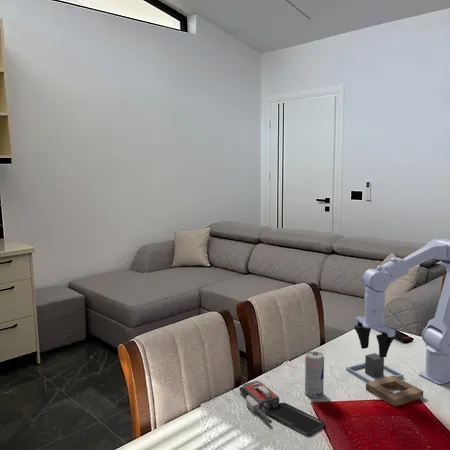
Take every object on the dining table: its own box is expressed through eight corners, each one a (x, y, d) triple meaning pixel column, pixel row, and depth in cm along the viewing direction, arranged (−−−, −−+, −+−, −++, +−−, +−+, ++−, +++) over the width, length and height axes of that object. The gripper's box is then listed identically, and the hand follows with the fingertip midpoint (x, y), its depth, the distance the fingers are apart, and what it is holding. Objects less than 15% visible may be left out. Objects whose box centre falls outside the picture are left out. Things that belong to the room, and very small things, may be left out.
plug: (374, 370, 148) (374, 353, 148) (383, 375, 145) (384, 357, 144) (365, 373, 147) (365, 355, 146) (373, 378, 143) (374, 360, 142)
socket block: (393, 381, 140) (393, 375, 140) (423, 397, 130) (423, 391, 130) (365, 389, 136) (365, 383, 135) (394, 406, 126) (394, 399, 125)
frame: (374, 363, 154) (374, 360, 154) (403, 377, 143) (403, 374, 143) (346, 370, 149) (346, 367, 149) (373, 386, 138) (373, 383, 137)
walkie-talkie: (233, 394, 134) (267, 428, 116) (232, 380, 134) (266, 412, 116) (259, 388, 138) (295, 420, 120) (258, 374, 138) (295, 404, 120)
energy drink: (325, 391, 135) (325, 352, 133) (321, 399, 130) (321, 359, 128) (307, 388, 137) (307, 350, 136) (302, 396, 132) (303, 356, 131)
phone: (282, 401, 128) (327, 423, 117) (282, 405, 128) (327, 427, 117) (263, 411, 123) (308, 434, 112) (263, 415, 123) (308, 439, 112)
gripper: (347, 304, 141) (347, 346, 143) (382, 318, 128) (381, 363, 130) (365, 301, 144) (364, 342, 146) (400, 314, 131) (399, 358, 133)
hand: (373, 352), depth 138 cm, fingers open, 7 cm apart
